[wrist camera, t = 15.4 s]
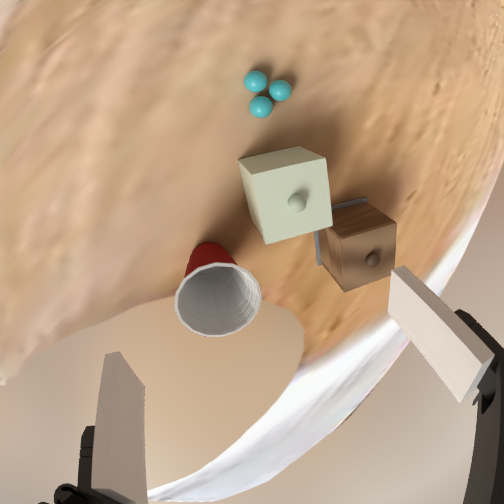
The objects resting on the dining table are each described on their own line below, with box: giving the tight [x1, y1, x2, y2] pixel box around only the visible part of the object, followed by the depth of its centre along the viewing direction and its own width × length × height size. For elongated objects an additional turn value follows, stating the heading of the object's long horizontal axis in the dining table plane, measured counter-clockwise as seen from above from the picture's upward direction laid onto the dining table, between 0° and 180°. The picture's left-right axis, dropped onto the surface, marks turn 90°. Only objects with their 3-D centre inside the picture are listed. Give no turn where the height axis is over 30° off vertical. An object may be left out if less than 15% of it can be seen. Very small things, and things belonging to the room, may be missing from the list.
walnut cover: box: [318, 201, 397, 292], centre depth 45 cm, size 9×9×10 cm
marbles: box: [244, 70, 292, 118], centre depth 39 cm, size 18×6×3 cm, turn 11°
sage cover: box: [238, 146, 333, 245], centre depth 39 cm, size 9×9×10 cm
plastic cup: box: [175, 242, 262, 337], centre depth 42 cm, size 11×11×12 cm
